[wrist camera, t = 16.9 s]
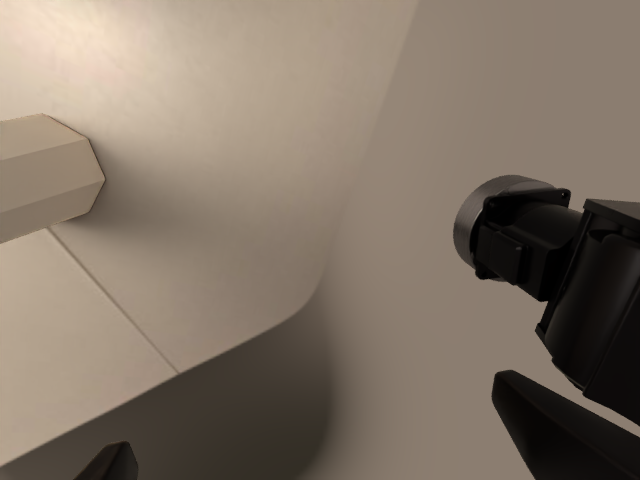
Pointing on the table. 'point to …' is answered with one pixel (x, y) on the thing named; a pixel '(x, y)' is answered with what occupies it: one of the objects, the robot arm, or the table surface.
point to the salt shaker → (44, 175)
